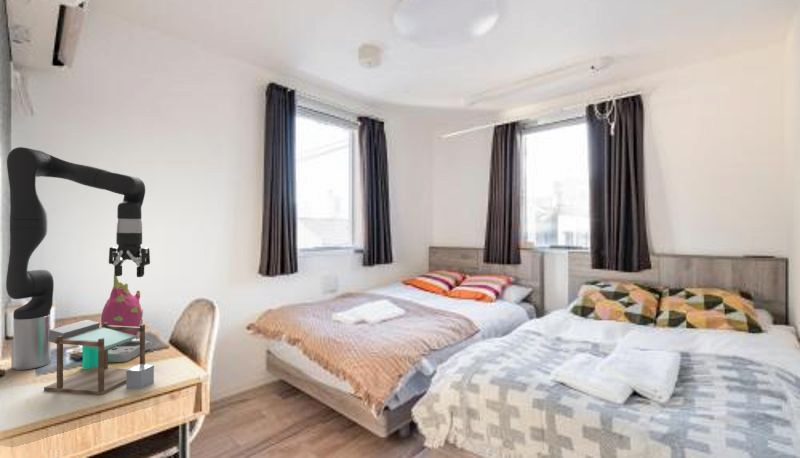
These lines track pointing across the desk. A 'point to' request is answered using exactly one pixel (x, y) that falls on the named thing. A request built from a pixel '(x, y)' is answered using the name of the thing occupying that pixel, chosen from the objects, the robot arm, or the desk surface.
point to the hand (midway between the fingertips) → (129, 276)
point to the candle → (90, 357)
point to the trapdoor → (90, 334)
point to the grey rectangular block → (139, 376)
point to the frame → (95, 377)
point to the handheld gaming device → (126, 351)
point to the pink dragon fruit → (123, 308)
